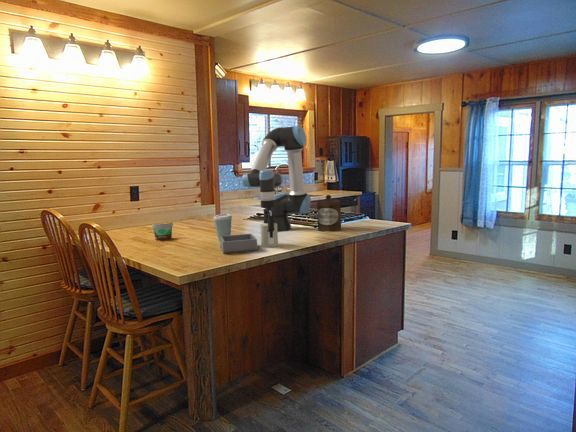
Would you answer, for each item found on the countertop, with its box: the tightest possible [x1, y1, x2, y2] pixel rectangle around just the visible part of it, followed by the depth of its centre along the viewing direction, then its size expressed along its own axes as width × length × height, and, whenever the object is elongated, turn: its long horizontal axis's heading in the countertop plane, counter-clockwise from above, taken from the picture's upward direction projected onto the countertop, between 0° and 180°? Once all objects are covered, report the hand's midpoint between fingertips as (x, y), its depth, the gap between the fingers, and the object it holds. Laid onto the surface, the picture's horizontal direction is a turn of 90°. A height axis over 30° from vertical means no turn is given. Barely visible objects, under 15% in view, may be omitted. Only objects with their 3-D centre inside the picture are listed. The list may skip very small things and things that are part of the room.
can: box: [259, 222, 279, 248], centre depth 219 cm, size 9×9×12 cm
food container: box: [151, 221, 174, 241], centre depth 246 cm, size 12×6×10 cm, turn 112°
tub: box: [219, 233, 258, 255], centre depth 213 cm, size 17×17×6 cm
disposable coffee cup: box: [212, 213, 233, 242], centre depth 236 cm, size 11×11×15 cm
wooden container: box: [316, 194, 342, 232], centre depth 259 cm, size 15×15×22 cm
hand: (269, 241), depth 219 cm, fingers closed on can, 9 cm apart
